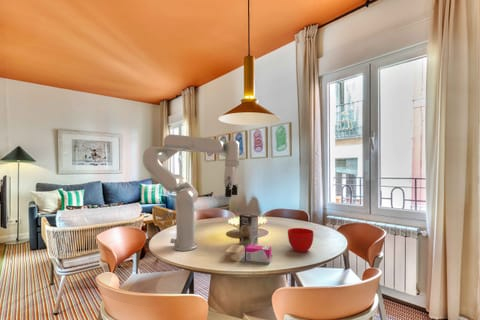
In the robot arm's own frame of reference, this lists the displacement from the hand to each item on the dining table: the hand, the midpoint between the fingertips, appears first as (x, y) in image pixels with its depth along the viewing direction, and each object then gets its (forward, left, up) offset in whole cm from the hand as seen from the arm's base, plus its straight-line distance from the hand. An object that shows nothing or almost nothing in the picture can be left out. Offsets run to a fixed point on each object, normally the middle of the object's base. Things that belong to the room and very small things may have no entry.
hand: (231, 195), depth 138 cm
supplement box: (+11, -14, -24) cm, 30 cm away
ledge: (+6, -12, -28) cm, 31 cm away
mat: (+16, -12, -28) cm, 34 cm away
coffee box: (+7, +11, -28) cm, 31 cm away
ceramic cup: (+35, +8, -28) cm, 45 cm away
